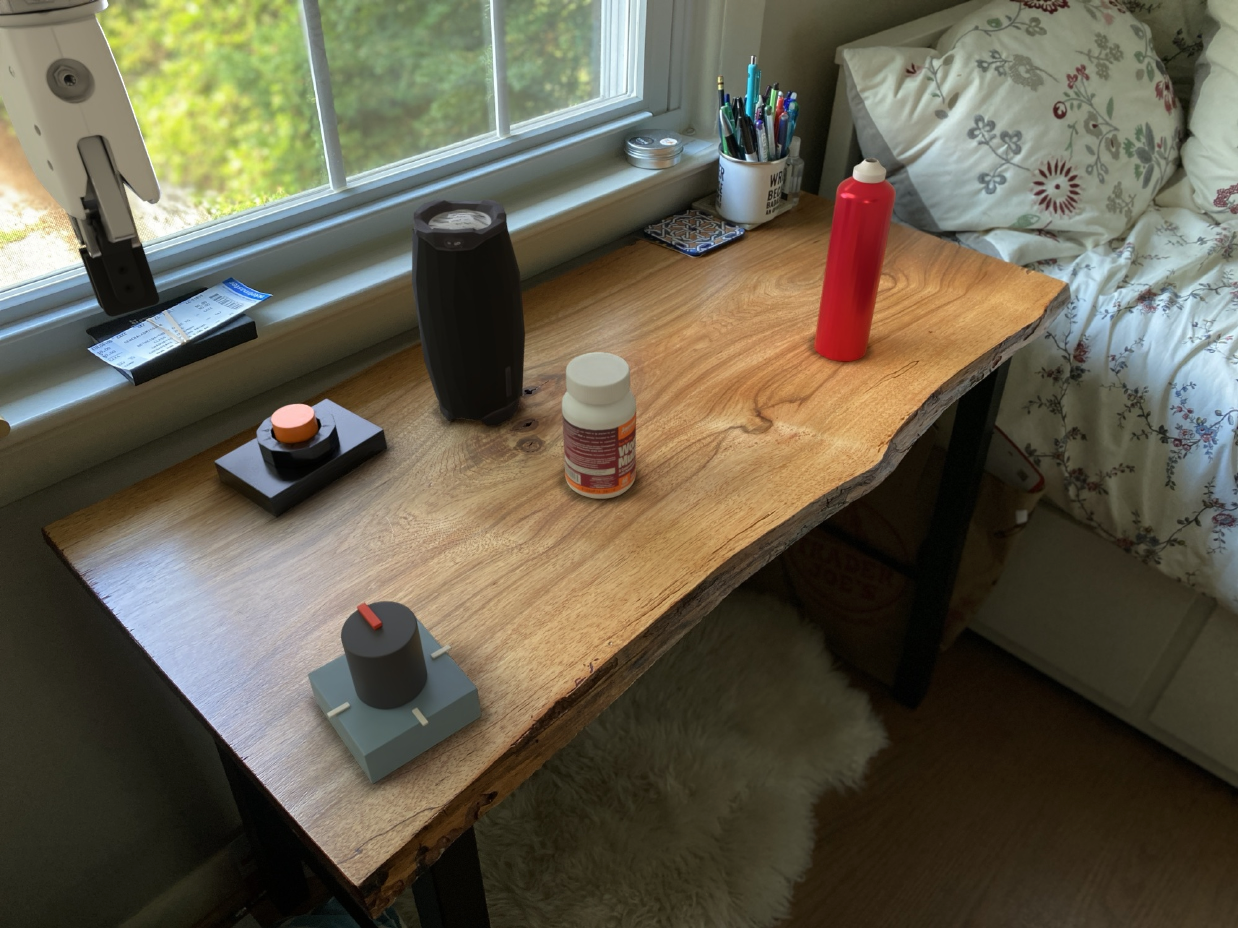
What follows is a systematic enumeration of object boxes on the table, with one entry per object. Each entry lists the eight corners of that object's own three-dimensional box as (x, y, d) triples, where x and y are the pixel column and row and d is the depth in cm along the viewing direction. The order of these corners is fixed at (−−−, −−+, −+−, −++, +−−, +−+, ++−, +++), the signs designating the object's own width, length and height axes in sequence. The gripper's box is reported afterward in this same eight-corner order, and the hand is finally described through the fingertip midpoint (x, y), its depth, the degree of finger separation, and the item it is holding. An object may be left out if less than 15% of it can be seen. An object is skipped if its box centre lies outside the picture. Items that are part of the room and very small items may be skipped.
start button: (292, 449, 79) (288, 433, 78) (266, 434, 80) (261, 417, 79) (327, 429, 81) (323, 413, 80) (301, 415, 83) (296, 398, 81)
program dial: (440, 683, 60) (430, 628, 57) (376, 722, 58) (362, 666, 54) (404, 641, 63) (392, 586, 60) (342, 676, 60) (326, 621, 57)
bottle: (803, 341, 99) (829, 155, 87) (844, 330, 101) (876, 146, 89) (834, 366, 95) (866, 175, 83) (877, 353, 97) (914, 165, 85)
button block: (276, 518, 77) (265, 481, 75) (220, 481, 81) (207, 444, 79) (387, 448, 85) (380, 412, 82) (331, 417, 88) (322, 382, 86)
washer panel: (369, 792, 57) (360, 762, 55) (308, 701, 63) (298, 671, 61) (490, 716, 62) (485, 686, 60) (423, 638, 67) (417, 607, 65)
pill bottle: (633, 503, 79) (635, 391, 72) (561, 500, 79) (555, 388, 72) (637, 458, 83) (638, 349, 76) (568, 455, 84) (564, 347, 77)
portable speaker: (421, 396, 91) (389, 205, 79) (510, 372, 94) (493, 185, 82) (449, 443, 85) (420, 243, 73) (543, 416, 88) (530, 220, 76)
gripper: (141, -5, 45) (235, 333, 56) (59, -46, 54) (153, 251, 65) (-36, 15, 41) (102, 374, 52) (-92, -32, 50) (35, 281, 61)
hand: (130, 305), depth 58 cm, fingers closed
